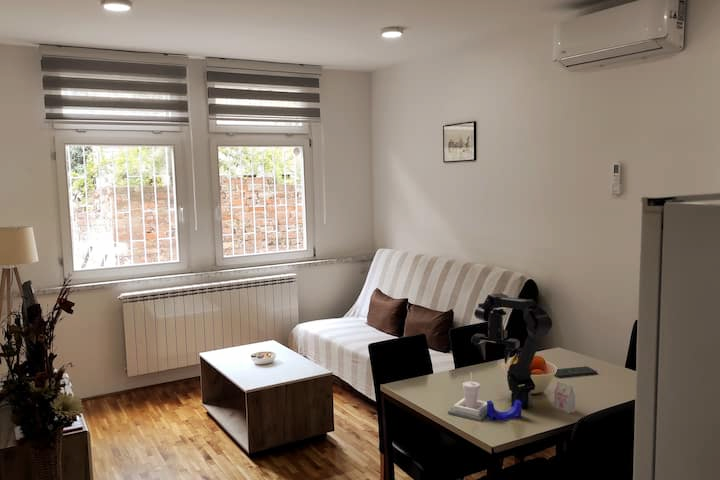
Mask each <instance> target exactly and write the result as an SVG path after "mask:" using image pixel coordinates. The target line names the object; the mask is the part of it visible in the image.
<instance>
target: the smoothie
mask: <svg viewBox="0 0 720 480" xmlns="http://www.w3.org/2000/svg"><path fill="white" fill-rule="evenodd" d="M462 387H463V393H464V394H463V395H464V397H465V405H466V407H468V408H473V409H476V405H477V400H478V397H479V392H480V391H479V389H480V388H481V385H480V383H479V382H477V381H473V372H470V381H465V382H463V383H462Z"/></svg>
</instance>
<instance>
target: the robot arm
mask: <svg viewBox="0 0 720 480" xmlns="http://www.w3.org/2000/svg"><path fill="white" fill-rule="evenodd" d="M504 308H507V309H513V310H521V311H522V313H523V320H524V321H525V323H526V330H527V336H526V338H525V341H524V343H523V344H524V345H523V346H522V349H521V351H520V354H519V357H518V359H517V362H516V363H513V364H510V365H509V367H508V370H507V372H506V373H507V374H506V375H507V376H506V379H507V383H508V388H509V391H511V393H510V395H511V396H510V397H511V399H510V403H511V404H510V407H511V408H512V407H513V405H514V403H515V400H520V402H521V403H522V410H528V409H529V408H530V407H532V405H533V402H532V391H535V388H536V384H535V382H534V381H533V379H532V377H531V376H532V371H531V366H532V363H533V361H534V359H535V355H536V353H537V351H538V348H539V346H540V343H541V341H542V339H543V338H544V337H545V336H546V335H547V334H548V333H549V332H550V330H552V327H553V321H552V318H551V317H550V315H549V314H548V312H547V311H546V310H545V309H543V308H542V307H541V306H540V305H538V304H537V302H536V301H535V300H533V299H531V298H530V299H527V298H526V299H524V298H517V297H509V295H507V294H504V293H502V292H500V293H492V294H491V293H490V294H488V295H487V296H486V299H485V300H484V302H482V303H478V306H477V307H476V309H475V310H474V317H475V318H476V319H477V320H481V321H483V322H486V323H487V322H488V325H487V326H488V327H486V329H487V336H486V334H485V333H475V334H473V335H472V336H471V338H470V339H471V341H470V343H472V344H474V346H476V348H477V349H478V351H479V353H480V356H481V358H482V360H483V361H485V360H486V344H487V343H491V344H498V345H503V346H504V345H505V348H504V364H505V365H506V364H508V360H509V357H510V355H511V353H512V352H513V351H514V350H516V349H518V348H519V347H520V345H521V344H520V343H521V342H520V340H519V339H517V338H511V337H510V338H508V339H507V337H508V330H506V329H505V327H504V325H503V323H504V322H503V321H504V319H503V318H504V316H506V315H507V312H506V311H505V310H504ZM530 311H531V312H533V313H534V314H535V315H533V316H532V315H531V313H530Z"/></svg>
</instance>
